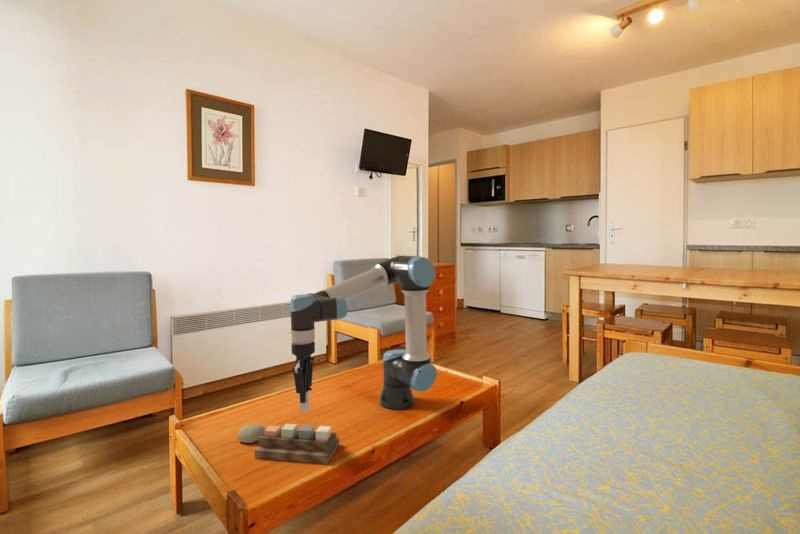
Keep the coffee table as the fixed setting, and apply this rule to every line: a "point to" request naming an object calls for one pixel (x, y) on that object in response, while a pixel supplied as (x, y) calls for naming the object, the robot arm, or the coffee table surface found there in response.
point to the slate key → (306, 432)
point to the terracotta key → (272, 431)
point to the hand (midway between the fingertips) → (304, 410)
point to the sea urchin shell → (250, 432)
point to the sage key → (289, 431)
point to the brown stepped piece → (297, 448)
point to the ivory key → (323, 433)
